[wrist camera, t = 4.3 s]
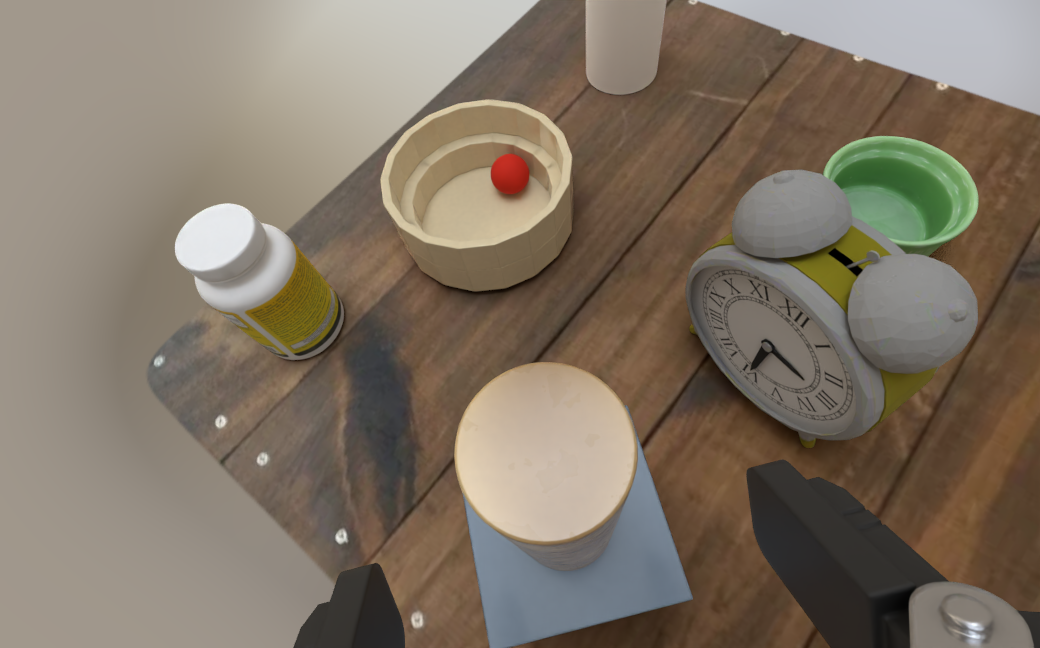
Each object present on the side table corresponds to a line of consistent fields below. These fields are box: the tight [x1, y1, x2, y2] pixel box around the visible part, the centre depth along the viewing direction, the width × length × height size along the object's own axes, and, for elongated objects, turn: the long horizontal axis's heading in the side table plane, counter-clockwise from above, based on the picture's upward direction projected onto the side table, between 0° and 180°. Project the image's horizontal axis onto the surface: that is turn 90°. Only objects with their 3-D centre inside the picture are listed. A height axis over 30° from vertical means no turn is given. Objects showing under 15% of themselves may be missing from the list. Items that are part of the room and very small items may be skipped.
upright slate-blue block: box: [463, 405, 693, 648], centre depth 27 cm, size 8×8×10 cm
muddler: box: [454, 362, 638, 571], centre depth 17 cm, size 4×4×12 cm
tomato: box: [491, 154, 529, 194], centre depth 41 cm, size 3×3×3 cm
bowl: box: [380, 100, 574, 291], centre depth 40 cm, size 13×13×6 cm
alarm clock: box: [686, 170, 978, 448], centre depth 28 cm, size 12×7×15 cm, turn 35°
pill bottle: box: [175, 204, 344, 360], centre depth 35 cm, size 6×6×11 cm
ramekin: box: [823, 136, 978, 257], centre depth 36 cm, size 9×9×4 cm
